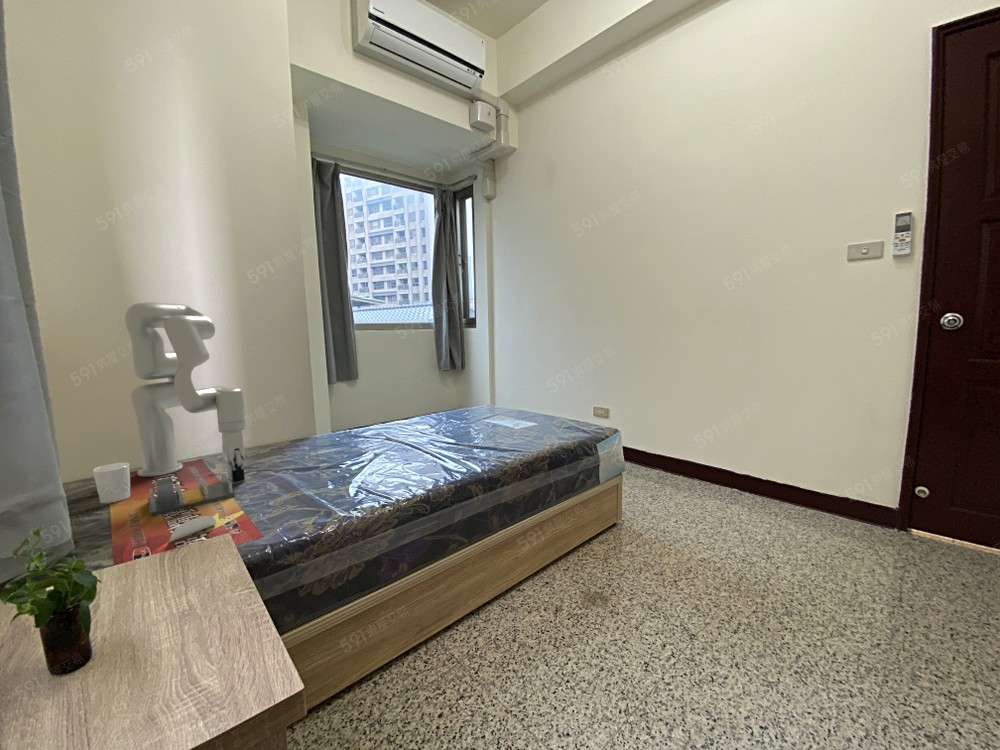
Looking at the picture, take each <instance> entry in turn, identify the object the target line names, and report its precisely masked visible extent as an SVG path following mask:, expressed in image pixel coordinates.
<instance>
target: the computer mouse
mask: <svg viewBox="0 0 1000 750" xmlns="http://www.w3.org/2000/svg"><path fill="white" fill-rule="evenodd" d="M216 524H217V520H216V518H215V517H213V516H210V515H207V516H206V515H205V516H199V517H196V518H192V519H190V520H188V521H186V522H183V523H181V524H177V525H175V526H173V527H171V528H169V529H167V531H169V530H172V529H174V530H173V531H172V533H171V535H170V538H169V541H168V544H170V543H172V542H174V541H177V540H179V539H183V538H185V537H187V536H189V535H192V534H196V533H197V532H200V531H203V530H206V529H208V528H210V527H213V526H215V525H216Z"/></svg>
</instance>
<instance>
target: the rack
mask: <svg viewBox="0 0 1000 750" xmlns="http://www.w3.org/2000/svg"><path fill="white" fill-rule="evenodd" d="M198 484H199V487H196V488H191V489H186V490H181V487H180V484H179V483H178V482H176V483H174V481H173V479H172V477H166V478H163V479H157V480H155V488H156V496H155V495H154V490H153V488H148V494H149V498H148V499H147V502H148V506H149V512H150V517H154V516H155V517H156V516H158V515H162V514H166V513H171V512H175V511H179V510H184V509H187V508H191V507H197V506H200V505H205V504H209V503H213V502H217V501H220V500H225V499H228V498H230V499H231V498H233V497H236V495H235V494H236V493H235V492H234V489H233V484H232V483H231V481H230V480H229V476H227V474H226V473H221V482H218V483H214V484H209V485H207V483H205V481H204V479H203V478H202V477H201V478H200V477H199V478H198Z"/></svg>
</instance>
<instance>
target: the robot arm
mask: <svg viewBox="0 0 1000 750" xmlns="http://www.w3.org/2000/svg"><path fill="white" fill-rule="evenodd" d="M124 323H125V326H126V327H125V328H126V329H127V332H128V334H129V336H130V340H131V341H130V342H131V350H132V362H133V369H134V373H135V375H136V377H137V378H138V379H141V380H144V381H151V380H154V381H155V380H162V379H163V380H164V379H168V381H163V382H161V381H160V382H152V383H146V384H143V385H139V386H137V387H135V388H134V389H133V390H132V392H131V394H130V399H131V400H130V401H131V404H132V407H133V409H134V412H135V415H136V420H137V428H138V437H139V443H140V454H141V462H142V468H140V469H139V470H137V476H139V477H145V478H146V477H159V476H164V475H168V474H172V473H175V472H178V471H180V470H182V469H183V467H184V465H183V463H182V462H180V461H179V462H178V458H177V457H178V455H177V449H176V448H177V447H176V440H175V429H174V421H173V419H172V417H171V416H170V415H169V414H168V412H166V411H165V410H166V409H171V408H176V407H177V408H178V407H181V406H182V408H183V409H184V410H185V411H187V412H188V413H190V414H198V413H199V414H200V413H204V412H209V411H215V410H216V417H217V426H218V433H221V444H222V447H221V448H222V457H223V459H224V460H225V462H228V463H230V462H231V461H232V466H233V470H232V476H233V482H239V481H243V480H244V479H245V480H246V477H245V478H244V475H245V467H244V468H243V464H244V463H243V460H245V458H246V457H245V442H244V436H243V435H244V434H243V431H244V430H246V429H247V428H246V416H245V405H244V393H243V391H242V389H240V388H237V387H235V388H234V387H226V386H212V387H204V388H198V389H196V387H195V386H194V384H193V381H192V372H193V371H194V369H195V368H197V367H198V366H201V365H203V364H204V363H206V362H207V361H208V360H209V359H210V354H209V352H208V349H207V347H206V344H205V342H204V341H203V340H210V339H212V338H213V337H214V336H215V332H216V327H215V323H214V322H213V321H212V320H211V319H210V318H209V317H208V316H206V314H204V313H201V312H200V311H198V310H196V309H194V308H192V307H191V306H189V305H185V304H181V303H166V302H165V303H164V302H138V303H134V304H132V305H130V306H129V307H128V308H127V309H126V312H125V316H124ZM157 328H158V329H164V331H165V333H166V336H167V337H168V340H169V343H170V344H171V345H170V346H171V347H172V349H173V351H172V350H171V351H170V350H169V351H165V343H164V338H163V337H162V335H161V334H160V333H159V332H158V331H157V330H156V329H157ZM235 463H236V464H235Z"/></svg>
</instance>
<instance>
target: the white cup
mask: <svg viewBox="0 0 1000 750" xmlns="http://www.w3.org/2000/svg"><path fill="white" fill-rule="evenodd" d="M92 471H93V476H94V483H95V485H96V490H97V491H96V492H97V494H98V499H99V502H100V503H101V504H112V503H111V502H113V503H117V501H118V502H121V501H123V500H126V499H128V498H130V496H131V474H130V473H131V471H130V463H129V462H114V463H109V464H105V465H101V466H98V467H95V468H94V469H92Z"/></svg>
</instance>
